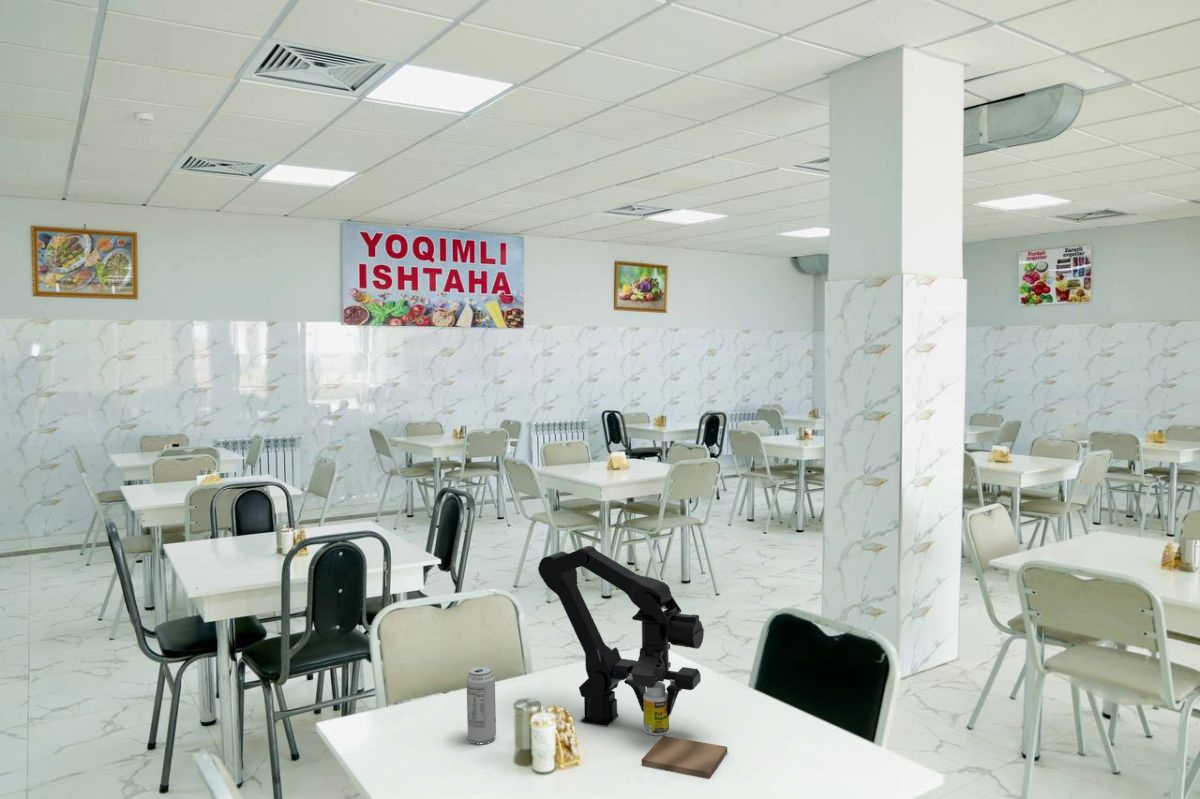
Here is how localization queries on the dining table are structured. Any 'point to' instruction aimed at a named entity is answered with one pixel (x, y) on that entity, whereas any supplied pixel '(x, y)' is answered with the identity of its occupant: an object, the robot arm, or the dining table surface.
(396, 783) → the dining table surface
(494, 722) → the energy drink can
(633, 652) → the dining table surface
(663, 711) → the supplement bottle
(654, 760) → the walnut board
